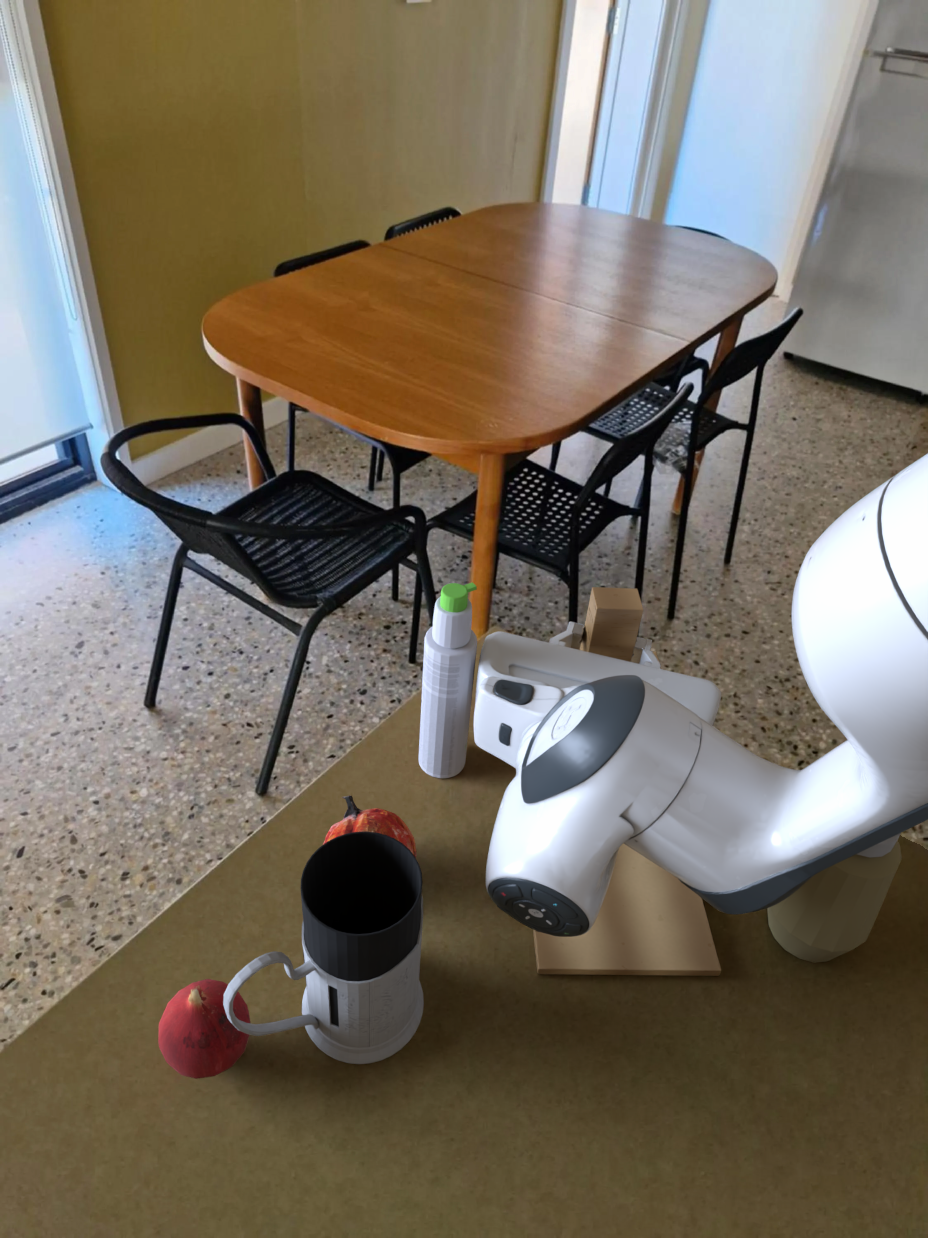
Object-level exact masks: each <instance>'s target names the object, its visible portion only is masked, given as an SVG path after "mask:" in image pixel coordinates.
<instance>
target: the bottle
mask: <svg viewBox="0 0 928 1238" xmlns="http://www.w3.org/2000/svg"><path fill="white" fill-rule="evenodd" d="M477 587H478V586H477V585H476V584H475V583H474V582H472V581H471V582H469V583H465V584H460V583H457V582H451V583H447V584H445V585H443V587H441V591H440V596H439V597H438V598H437V599H436V600H435V603H434V608H433V616H432V626H431V627H430V628H429V629H428V630H427V631H426V633H425V635H424V641H423V662H422V663H423V664H422V681H421V682H422V683H421V701H420V718H419V719H420V723H419V740H418V741H419V743H418V744H419V745H418V764H419V766H420V769H421V770H422V771H423V772H424V773H425V774H426V775H428V776H430V777H432V778H435V779H436V778H437V779H450V778H453V777H455V776H457V775H459V774H460V773H461V772H462V770H463V769H464V768H465V765H466V760H467V759H466V758H467V751H468V741H469V732H470V731H469V728H470V721H471V720H470V719H471V710H472V701H473V700H472V698H473V689H474V681H475V669H476V661H477V659H476V658H477V651H478V637H477V634H476V633H475V632H474V630H473V629H472V625H473V605H472V604H473V603H472V602H471V600H470V599H469V593H471V592H474V591H476V590H477V589H478V588H477Z"/></svg>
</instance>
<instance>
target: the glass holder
mask: <svg viewBox="0 0 928 1238" xmlns="http://www.w3.org/2000/svg"><path fill="white" fill-rule="evenodd" d="M423 884H424V883H423V873H422V869H421V866H420V863H419V861H418V859H417V856H416V857H415V856H414V855H413V853H412V852H411V851H410V850H409V849H408V848H407V847H406V846H405V845H404V844H403V843H401V842H399V841H398V840H396V839H395V838H392V837H390V836H387V835H385V834H381V833H376V832H367V831H364V832H352V833H347V834H344V835H341V836H338V837H335V838H333V839H332V840H330V841H328V842H326V843H325V844H323V843H322V845H321V846H319V847H318V848H317V849H316V850H315V851H314V852H313V853H312V855H310V857H309V858H308V860H307V861H306V863H305V866H304V868H303V870H302V873H301V877H300V898H301V899H300V900H301V911H302V912H301V913H302V923H301V944H302V955H303V964H301V965H300V966H298V967H296V968H294V965H293V962H292V960H291V958H289V956H288V955H286V954H285V953H284V952H282V951H276V950H273V951H270V952H269V951H268V952H265V953H263V954H261V955H259V956H258V957H255V958H254V959H252V960H251V961H250V962H248V963H247V964H245V966H244V967H243V968H241V969H240V970H239V971H238V972H237V973H236V974H235V975H234V976H233V978H232V979H231V980H230V981H229V983H227V984H228V986H227V989H226V991H225V993H224V1001H223V1005H224V1009H225V1012H226V1015H227V1018H228V1019H229V1021H230V1022H231V1023H232V1024H233V1025H234V1026H235V1027H236V1028H237V1029H238V1030H239V1031H241V1032H244V1033H246V1034H249V1036H255V1037H262V1036H268V1035H273V1034H277V1033H282V1032H287V1031H290V1030H293V1029H298V1028H301V1027H304V1028H305V1030H306V1033H307V1034H308V1036H309V1038H310V1040H311V1041H312V1042H313V1044H314V1045H315V1046H316V1047H317V1048H318V1049H319V1050H320V1051H321V1052H323V1053H324V1054H326V1056H328V1057H330V1058H332V1059H334V1060H336V1061H339V1062H342V1063H346V1064H353V1065H354V1064H355V1065H365V1064H373V1063H376V1062H380V1061H384V1060H386V1059H388V1058H390V1057H392V1056H393V1055H395V1054H396V1053H398V1052H399V1051H401V1050H402V1049H403V1048H404V1047H405V1046H406V1045H407V1044H408V1043H410V1040H411V1039H412V1038H413V1036H414V1035H415V1034H416V1031H417V1030H418V1028H419V1026H420V1024H421V1020H422V1017H423V1013H424V1005H425V1004H424V1003H425V1002H424V992H423V988H422V984H421V981H420V972H421V971H420V969H421V957H422V955H421V954H422V939H423V938H422V937H423V925H424V897H423ZM275 964H283V968H284V970H285V973H286V975H287V976H288V978H290V979H291V980H293V981H299V980H301V979H304V978H305V989H304V992H303V996H302V1001H301V1015H296V1016H293V1017H289V1018H285V1019H281V1020H275V1021H272V1022H265V1023H252V1022H251V1023H246V1022H243V1021H241V1020H239V1019H238V1018H236V1017H235V1014H234V1012H233V1000H234V998H235V996H236V993H237V991H238V992H239V990H240V989H241V988H242V987H243V985H244V984H245V983H246V982H247V981H249V979H251V977H253V976H255V974H256V973H258V972H259V971H261V970H262V969H264V968H266V967H269V966H270V965H275Z"/></svg>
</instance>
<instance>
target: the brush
mask: <svg viewBox="0 0 928 1238" xmlns="http://www.w3.org/2000/svg"><path fill="white" fill-rule="evenodd" d="M590 590H591V591H590V596H589V601H588V607H587V612H586V617H585V621H584V625H585V629H584V633H583V634H584V635H583V640H582V642H581V646H580V650H582V651H586V652H591V653H595V654H599V655H603V656H608V657H612V658H616V659H620V660H625V661H629V662H630V661H631V657H632V655H633V648H634V646H635V643H636V639H637V637H638V635H639V630H640V627H641V626H640V625H641V622H642V618H643V614H644V607H643V603H642V600H641V596H640V593H639V589H638V588H630V587H629V588H628V587H601V586H592V587H591V589H590ZM651 651H652V652H653V654H654V655H655V657H656V658H657V660H658V661H659V662H660V660H659V656H658V653H657V651H655V650H654V651H653V650H651ZM660 669H662V666H661V667H660Z"/></svg>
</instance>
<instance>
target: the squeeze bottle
mask: <svg viewBox="0 0 928 1238" xmlns="http://www.w3.org/2000/svg"><path fill="white" fill-rule="evenodd" d="M901 834H902V832H901V833H899V834H897V835H895V836H893V837H891V838H889V839H887V840H885V841H883V842H881V843H879V844H876V845H874V846H872V847H870V848H868V849H866V850H864V851H862V852H860V853H858V854H856V855H853V856H851V857H849V858H847V859H845V860H843V861H841V862H839V863H837V864H835V865H833V866H831V867H828V868H826V869H824V870H823V871H821V872H819V873H817V874H815V875H814V876H813V877H811V878H810V879H809V880H808V881H807V882H806V883H804V884H803V885H802V886H801V887H800V888H799V889H798V890H796V891H795V892H794V893H793V894H792V895H790V896H789V897H787V898H786V899H784V900H783V901H781V902H780V903H778V904H776V905H774V906H771V907H769V908H767V923H768V927H769V929H770V932H771V934H772V936H773V938H774V939H775V941H776V942H777V943H778V945H780V946H781V948H782V949H784V950H785V951H786V952H787V953H789V954H791V955H792V956H794V957H796V958H797V959H800V960H802V961H807V962H811V963H823V962H829V961H832V960H834V959H836V958H838V957H840V956H842V955H845V954H846V953H848V952H852V951H853V950H854V949H855V948H857V947H859V946H861V945H863V943H865V942H866V941H867V940H868V938H869V935H870V933H871V931H872V929H873V927H874V924H875V921H876V920H877V917H878V915H879V913H880V910H881V908H882V906H883V903H884V901H885V899H886V897H887V894H888V892H889V890H890V887H891V885H892V882H893V880H894V877H895V875H896V873H897V870H898V868H899V866H900V863H901V861H902V851H901V846H900V843H899V842H898V840H899V838H900V836H901Z"/></svg>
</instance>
